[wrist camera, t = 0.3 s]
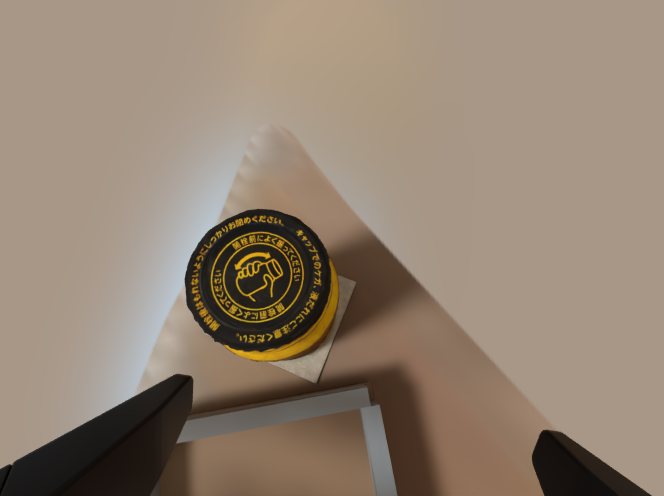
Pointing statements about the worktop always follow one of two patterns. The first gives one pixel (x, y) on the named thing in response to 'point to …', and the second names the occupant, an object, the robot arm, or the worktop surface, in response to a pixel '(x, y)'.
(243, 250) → the condiment
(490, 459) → the worktop surface
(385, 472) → the grey square frame
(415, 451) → the worktop surface
